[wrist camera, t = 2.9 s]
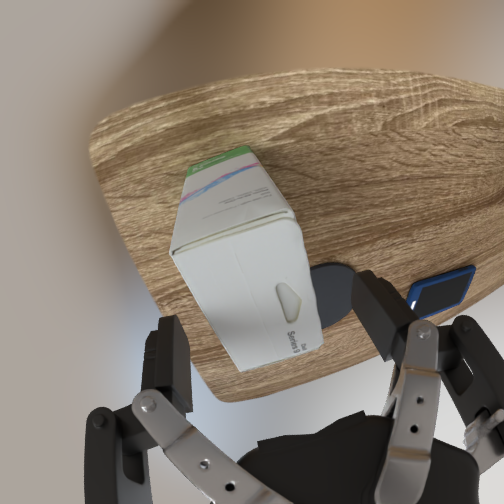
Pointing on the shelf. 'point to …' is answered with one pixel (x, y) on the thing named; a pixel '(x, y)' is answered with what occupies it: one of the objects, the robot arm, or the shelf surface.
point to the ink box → (246, 261)
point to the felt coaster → (332, 291)
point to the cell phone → (440, 292)
